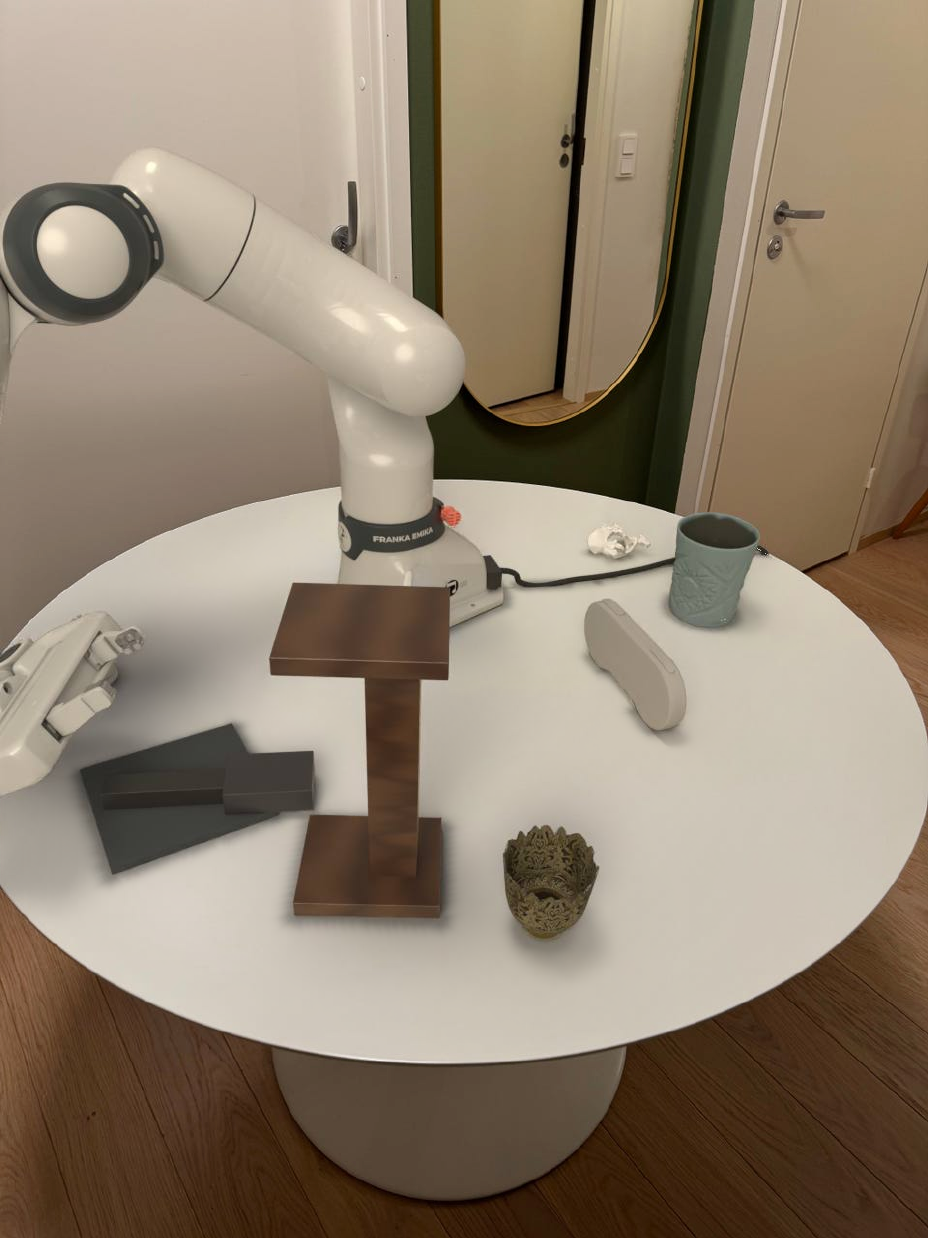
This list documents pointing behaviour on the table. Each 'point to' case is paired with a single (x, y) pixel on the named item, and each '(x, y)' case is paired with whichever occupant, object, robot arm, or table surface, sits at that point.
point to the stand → (372, 743)
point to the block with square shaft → (222, 785)
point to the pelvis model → (600, 544)
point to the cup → (548, 880)
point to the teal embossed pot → (710, 567)
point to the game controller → (635, 664)
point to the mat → (170, 827)
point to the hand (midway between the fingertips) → (125, 662)
